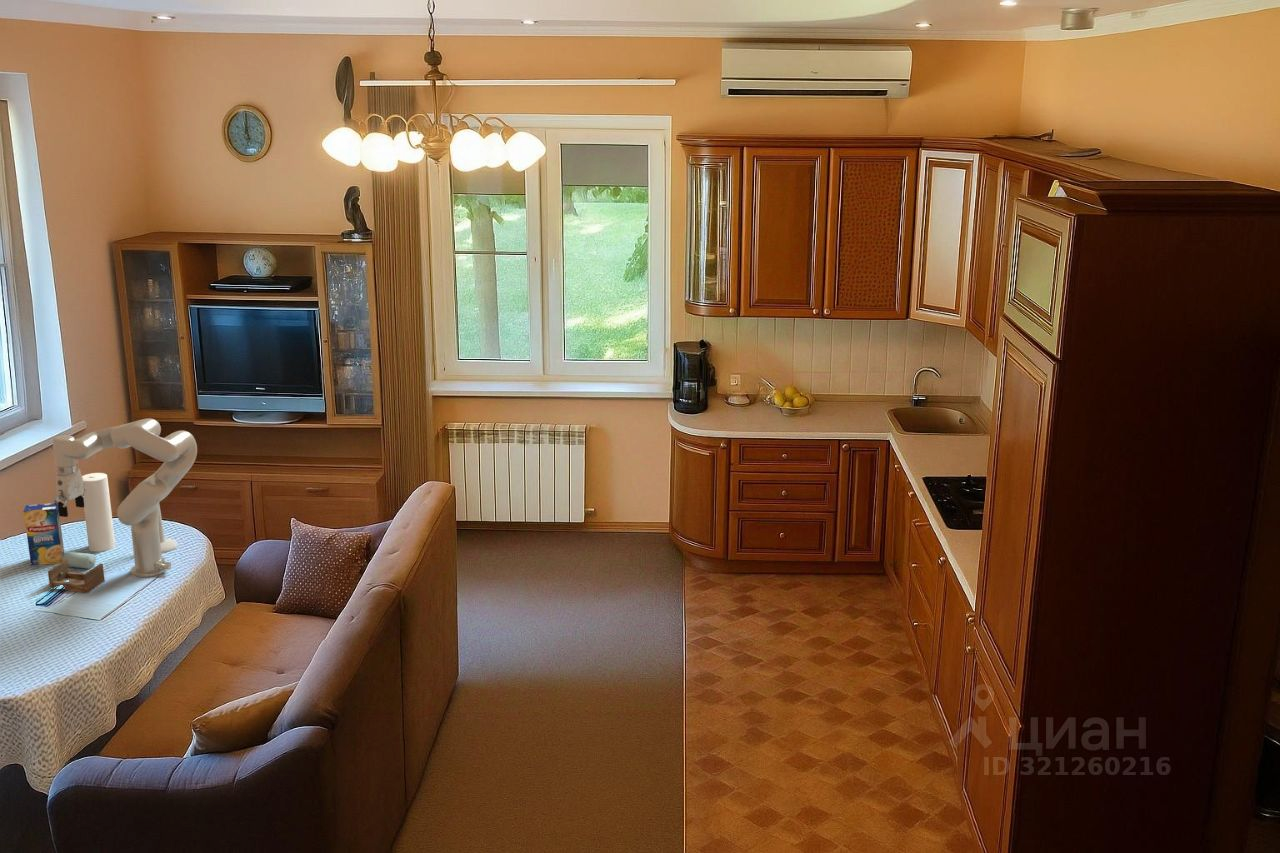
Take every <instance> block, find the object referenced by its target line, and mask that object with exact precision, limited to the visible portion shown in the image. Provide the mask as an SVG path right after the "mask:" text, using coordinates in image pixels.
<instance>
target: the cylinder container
mask: <svg viewBox="0 0 1280 853" xmlns="http://www.w3.org/2000/svg"><path fill="white" fill-rule="evenodd" d="M82 479H83V483H86V486H85V492H84V506H85V507H83V510H84V518H85V526H86V527H85V528H86V534H87V542H88V550H89V551H91V552H93V553H94V552H95V553H96V552H97V553H99V552H107V551H109V550H113V549H114V548H115V547H116V540H115V531H114V521H113V514H112V506H111V497H110V487H109V478H108V475H107V474H106V473H105V472H92V473H87V474H84V475H82Z"/></svg>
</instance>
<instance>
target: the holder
mask: <svg viewBox="0 0 1280 853" xmlns="http://www.w3.org/2000/svg"><path fill="white" fill-rule="evenodd" d="M47 576H48V583H49V589H50V590H52V589H51V588H54V587H56V586H59V585H63V586H65V589H66V590H65V591H67V592H68V591H69V592H77V593H86V594H87V592H88V593H90V592H91V591H92V590H95V587H96V588H97V587H98V585H99V586H100V585H102V584H103V583H104V582H105V581H106V579H105V572H104V564H103V563H99V564H97V565H96V566H94V567H93V568H91V569H89V570H88V571H86V572H85V573H84V572H83V573H81V572H74V571H73V572H71V571H70V567H69V565H68V560H65V561H63V562H60V563H57V565H55V566H54V567H52V568H51V569H49V570H47ZM64 580H69V582H63V581H64Z"/></svg>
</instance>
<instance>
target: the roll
mask: <svg viewBox="0 0 1280 853" xmlns="http://www.w3.org/2000/svg"><path fill="white" fill-rule="evenodd" d="M64 553H65V554H64V555H63V558H62V562H63V561H65V560H68V565H69V568H75V569H76V568H77V569H88V570H91V569H93V568H94V567H95V565H96V561H97V558H96V555H95V554H93V553H83V552H76V551H65V552H64Z"/></svg>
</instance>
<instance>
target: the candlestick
mask: <svg viewBox="0 0 1280 853" xmlns="http://www.w3.org/2000/svg"><path fill="white" fill-rule="evenodd" d="M158 523H159V535H160V544H161V554H164V553H169V552H171V551H174V550H176V549H177V548H178V547H179V543H178V541H177V540H175V539H172V538H166V537H165V532H164V525H163V520H162V512H161V506H160V505H159V514H158ZM177 546H178V547H177ZM168 551H169V552H168Z"/></svg>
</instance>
